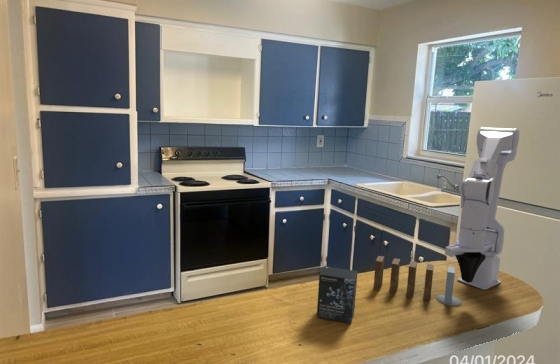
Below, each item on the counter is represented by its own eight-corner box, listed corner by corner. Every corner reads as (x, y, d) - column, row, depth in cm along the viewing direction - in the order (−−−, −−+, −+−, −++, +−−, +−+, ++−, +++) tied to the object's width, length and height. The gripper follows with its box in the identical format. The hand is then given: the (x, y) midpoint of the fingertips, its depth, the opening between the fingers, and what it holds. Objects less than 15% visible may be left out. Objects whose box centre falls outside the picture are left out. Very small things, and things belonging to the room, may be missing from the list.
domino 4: (430, 293, 105) (433, 264, 104) (430, 300, 101) (432, 270, 100) (424, 292, 106) (427, 263, 105) (423, 299, 102) (426, 269, 101)
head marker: (461, 298, 103) (461, 297, 103) (462, 308, 98) (462, 307, 98) (436, 293, 106) (436, 292, 106) (435, 302, 100) (435, 302, 100)
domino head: (451, 296, 104) (454, 267, 102) (451, 303, 100) (454, 273, 98) (444, 295, 104) (447, 266, 103) (444, 302, 100) (447, 271, 99)
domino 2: (397, 287, 109) (400, 259, 107) (395, 293, 105) (398, 264, 103) (391, 286, 109) (394, 258, 108) (389, 292, 105) (391, 263, 104)
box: (316, 318, 90) (318, 273, 89) (321, 307, 96) (323, 265, 94) (351, 325, 88) (354, 279, 86) (354, 313, 93) (357, 270, 92)
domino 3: (414, 290, 107) (417, 262, 106) (412, 297, 103) (415, 267, 102) (408, 289, 108) (410, 261, 106) (406, 295, 104) (408, 266, 102)
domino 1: (382, 284, 110) (384, 256, 109) (379, 290, 106) (381, 261, 105) (376, 283, 111) (378, 255, 110) (373, 289, 107) (375, 260, 106)
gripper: (480, 221, 104) (474, 271, 106) (437, 225, 98) (432, 278, 100) (505, 228, 97) (498, 281, 100) (461, 233, 92) (455, 289, 94)
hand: (466, 280), depth 99 cm, fingers closed
